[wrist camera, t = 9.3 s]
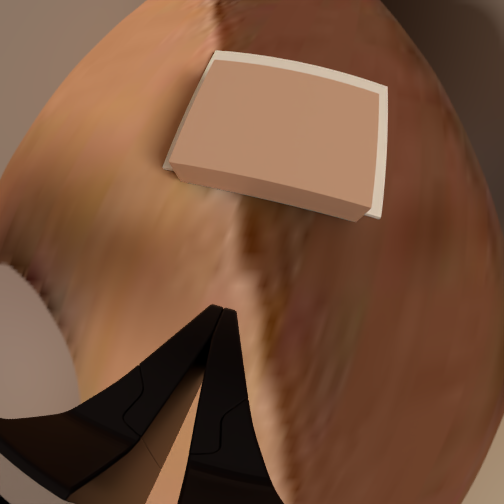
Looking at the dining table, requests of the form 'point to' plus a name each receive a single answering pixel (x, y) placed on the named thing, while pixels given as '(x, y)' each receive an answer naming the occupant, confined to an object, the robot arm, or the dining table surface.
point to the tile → (282, 138)
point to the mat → (321, 72)
